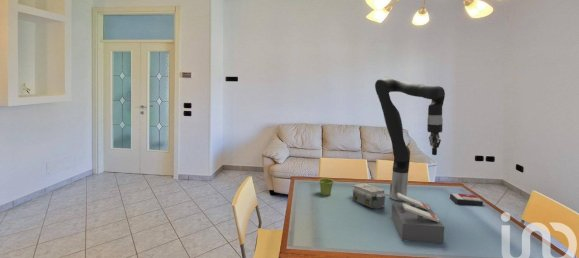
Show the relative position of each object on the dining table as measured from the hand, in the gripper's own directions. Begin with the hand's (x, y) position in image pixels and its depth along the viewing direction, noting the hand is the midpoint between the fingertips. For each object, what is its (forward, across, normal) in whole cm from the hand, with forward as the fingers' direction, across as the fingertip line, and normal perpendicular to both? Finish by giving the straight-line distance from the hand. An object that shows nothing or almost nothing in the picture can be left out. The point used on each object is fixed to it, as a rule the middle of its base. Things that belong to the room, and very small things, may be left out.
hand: (434, 154), depth 187 cm
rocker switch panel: (+32, +24, -16) cm, 44 cm away
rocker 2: (+21, +32, -16) cm, 42 cm away
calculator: (+34, -20, +25) cm, 47 cm away
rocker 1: (+21, +17, -15) cm, 31 cm away
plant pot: (+29, -20, -60) cm, 69 cm away
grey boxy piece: (+30, -8, -35) cm, 47 cm away
